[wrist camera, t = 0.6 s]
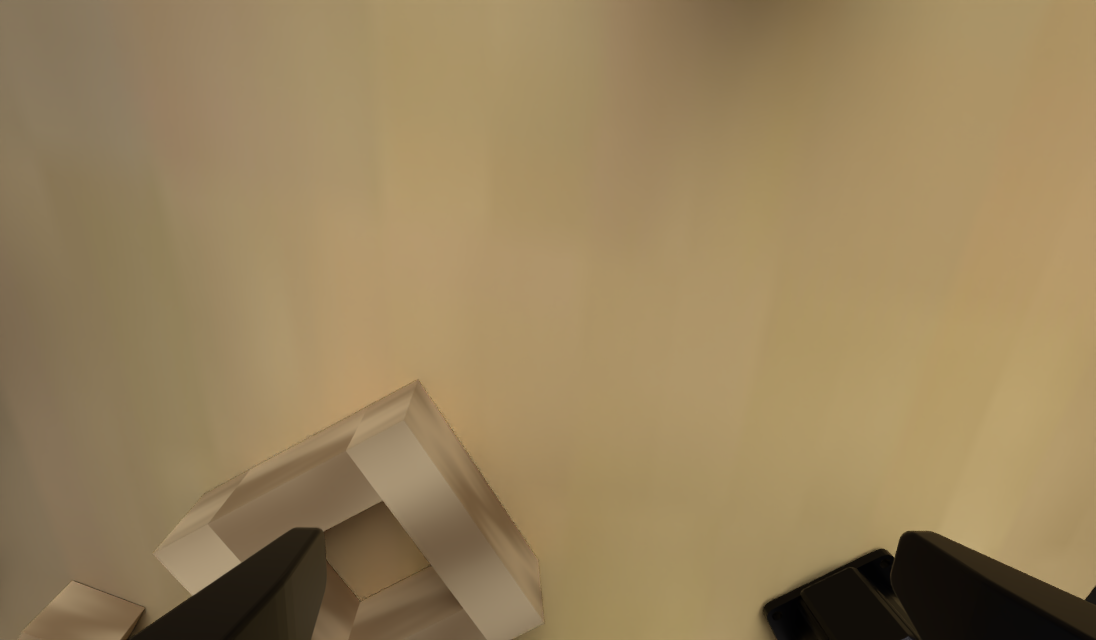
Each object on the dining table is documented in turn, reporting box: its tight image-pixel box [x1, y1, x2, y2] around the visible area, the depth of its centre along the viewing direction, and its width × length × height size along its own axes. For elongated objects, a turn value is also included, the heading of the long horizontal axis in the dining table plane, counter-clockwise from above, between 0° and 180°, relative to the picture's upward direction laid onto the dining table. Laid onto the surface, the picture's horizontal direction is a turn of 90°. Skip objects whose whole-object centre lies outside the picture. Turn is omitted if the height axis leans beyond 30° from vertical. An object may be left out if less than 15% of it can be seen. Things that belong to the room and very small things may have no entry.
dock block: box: [153, 380, 545, 640], centre depth 22 cm, size 10×10×4 cm
